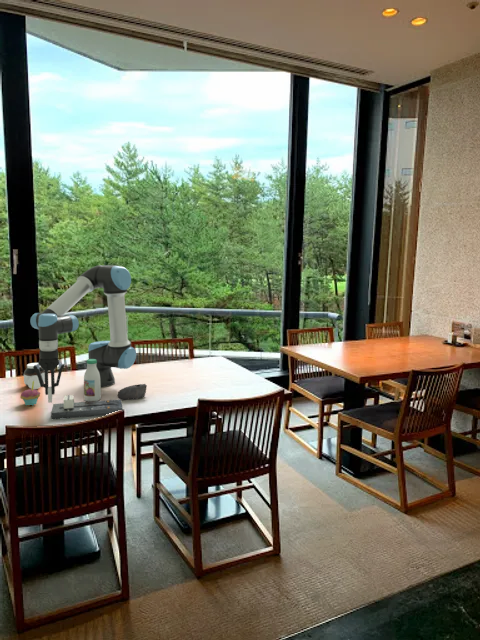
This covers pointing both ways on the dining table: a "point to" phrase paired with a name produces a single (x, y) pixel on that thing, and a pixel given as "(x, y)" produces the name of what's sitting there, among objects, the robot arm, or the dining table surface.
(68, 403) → the fader knob
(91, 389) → the milk bottle
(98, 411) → the fader console
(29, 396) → the cupcake
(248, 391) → the dining table surface
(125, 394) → the perforated stone tool
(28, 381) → the spread jar
